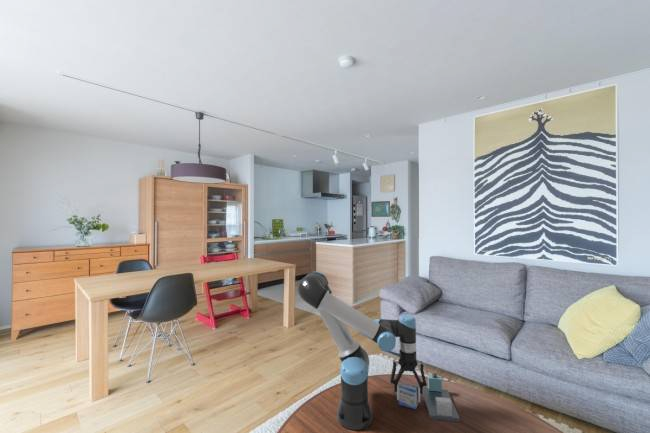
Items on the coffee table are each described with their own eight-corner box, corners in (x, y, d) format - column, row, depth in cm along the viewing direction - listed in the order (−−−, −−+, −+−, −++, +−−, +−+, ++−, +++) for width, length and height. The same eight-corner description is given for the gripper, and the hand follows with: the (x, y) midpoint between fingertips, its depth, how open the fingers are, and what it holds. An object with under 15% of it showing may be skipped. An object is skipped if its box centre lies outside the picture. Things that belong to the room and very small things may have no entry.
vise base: (430, 418, 124) (429, 401, 124) (421, 390, 144) (421, 375, 145) (459, 421, 122) (459, 403, 122) (447, 392, 142) (446, 377, 143)
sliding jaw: (429, 390, 141) (428, 374, 142) (427, 387, 144) (427, 371, 145) (441, 391, 140) (441, 375, 141) (440, 388, 143) (440, 372, 144)
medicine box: (398, 404, 133) (398, 385, 133) (400, 399, 137) (400, 381, 137) (416, 410, 130) (416, 390, 130) (418, 404, 134) (417, 385, 134)
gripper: (384, 352, 132) (385, 402, 131) (433, 355, 128) (434, 406, 128) (383, 345, 139) (384, 392, 139) (430, 348, 136) (431, 396, 135)
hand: (408, 399), depth 133 cm, fingers closed on medicine box, 9 cm apart
